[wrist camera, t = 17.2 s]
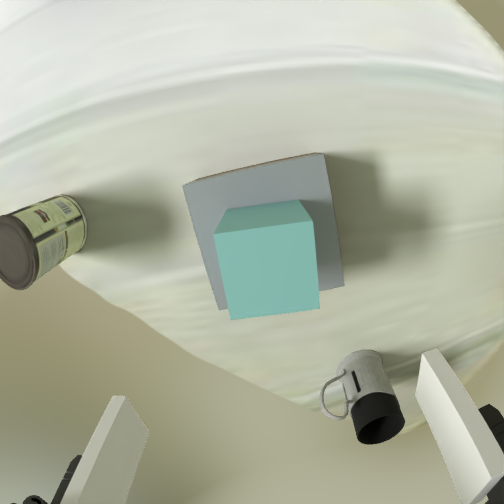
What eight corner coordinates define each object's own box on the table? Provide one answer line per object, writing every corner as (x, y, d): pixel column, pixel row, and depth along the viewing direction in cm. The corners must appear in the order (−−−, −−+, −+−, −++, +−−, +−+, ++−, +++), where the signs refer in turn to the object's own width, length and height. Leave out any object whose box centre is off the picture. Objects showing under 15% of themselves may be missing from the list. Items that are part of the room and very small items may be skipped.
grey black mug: (366, 388, 52) (386, 447, 38) (301, 374, 51) (309, 440, 37) (391, 355, 49) (419, 413, 35) (323, 337, 48) (340, 403, 34)
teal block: (226, 209, 34) (213, 234, 25) (298, 199, 33) (312, 220, 24) (238, 275, 37) (230, 319, 27) (305, 266, 36) (319, 308, 27)
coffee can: (41, 246, 45) (-10, 277, 32) (44, 189, 41) (-15, 208, 28) (86, 262, 45) (37, 300, 32) (91, 201, 42) (34, 225, 29)
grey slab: (190, 181, 37) (182, 186, 33) (317, 153, 35) (323, 154, 32) (222, 295, 42) (218, 310, 38) (337, 273, 40) (344, 285, 37)
